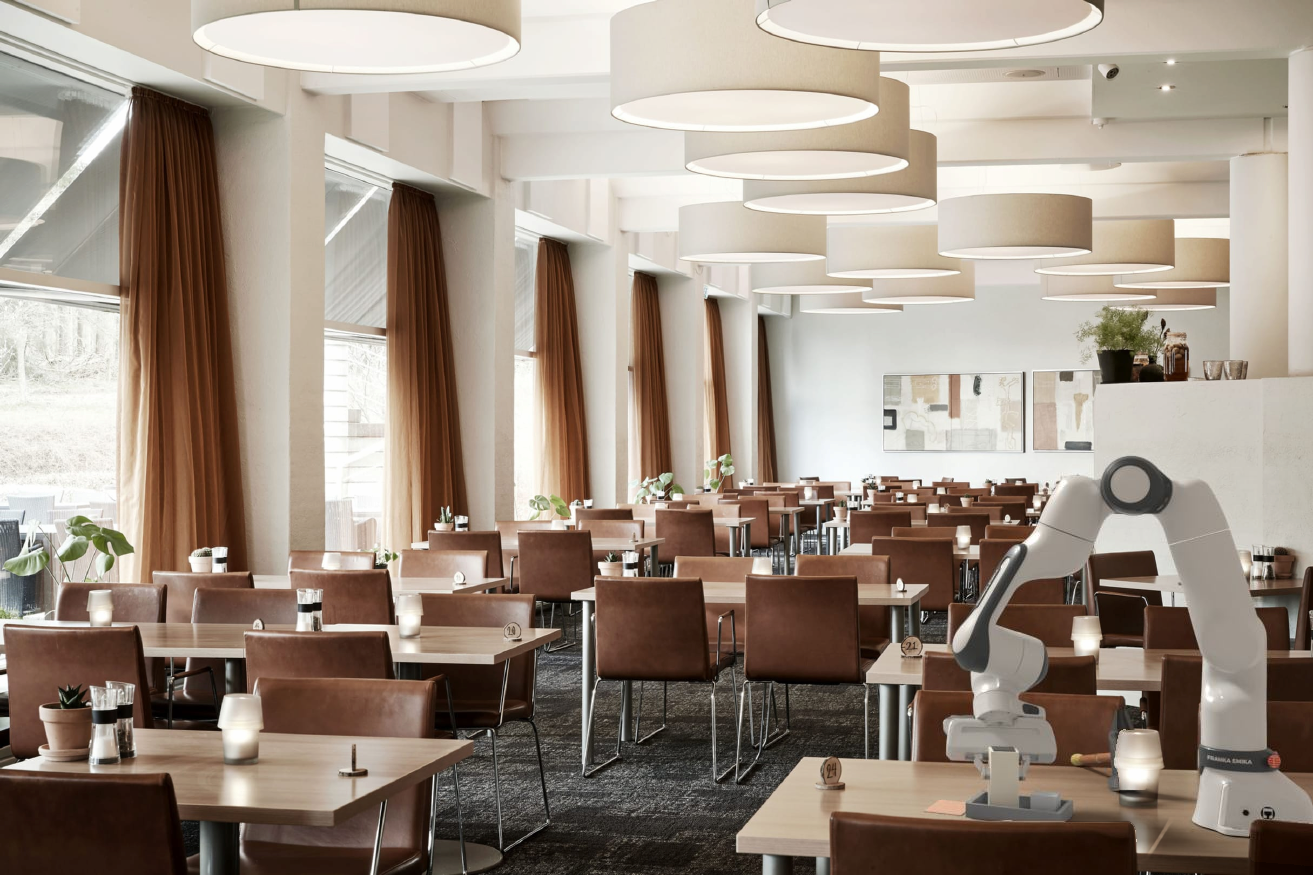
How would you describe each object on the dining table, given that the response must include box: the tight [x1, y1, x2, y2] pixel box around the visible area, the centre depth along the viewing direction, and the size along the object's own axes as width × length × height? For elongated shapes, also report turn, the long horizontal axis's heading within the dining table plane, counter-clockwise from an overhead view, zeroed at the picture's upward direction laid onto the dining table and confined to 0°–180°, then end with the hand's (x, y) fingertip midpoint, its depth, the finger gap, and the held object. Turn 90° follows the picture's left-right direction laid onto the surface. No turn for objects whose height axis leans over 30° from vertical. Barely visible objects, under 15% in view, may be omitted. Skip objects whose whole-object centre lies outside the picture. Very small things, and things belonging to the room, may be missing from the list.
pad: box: [923, 799, 966, 817], centre depth 264 cm, size 7×11×1 cm, turn 153°
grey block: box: [1029, 789, 1062, 812], centre depth 256 cm, size 4×4×4 cm
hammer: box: [1070, 709, 1135, 792], centre depth 295 cm, size 6×16×30 cm
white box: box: [987, 746, 1020, 808], centre depth 259 cm, size 5×5×12 cm
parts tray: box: [965, 790, 1074, 821], centre depth 258 cm, size 17×12×3 cm
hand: (1003, 778), depth 259 cm, fingers closed on white box, 5 cm apart
